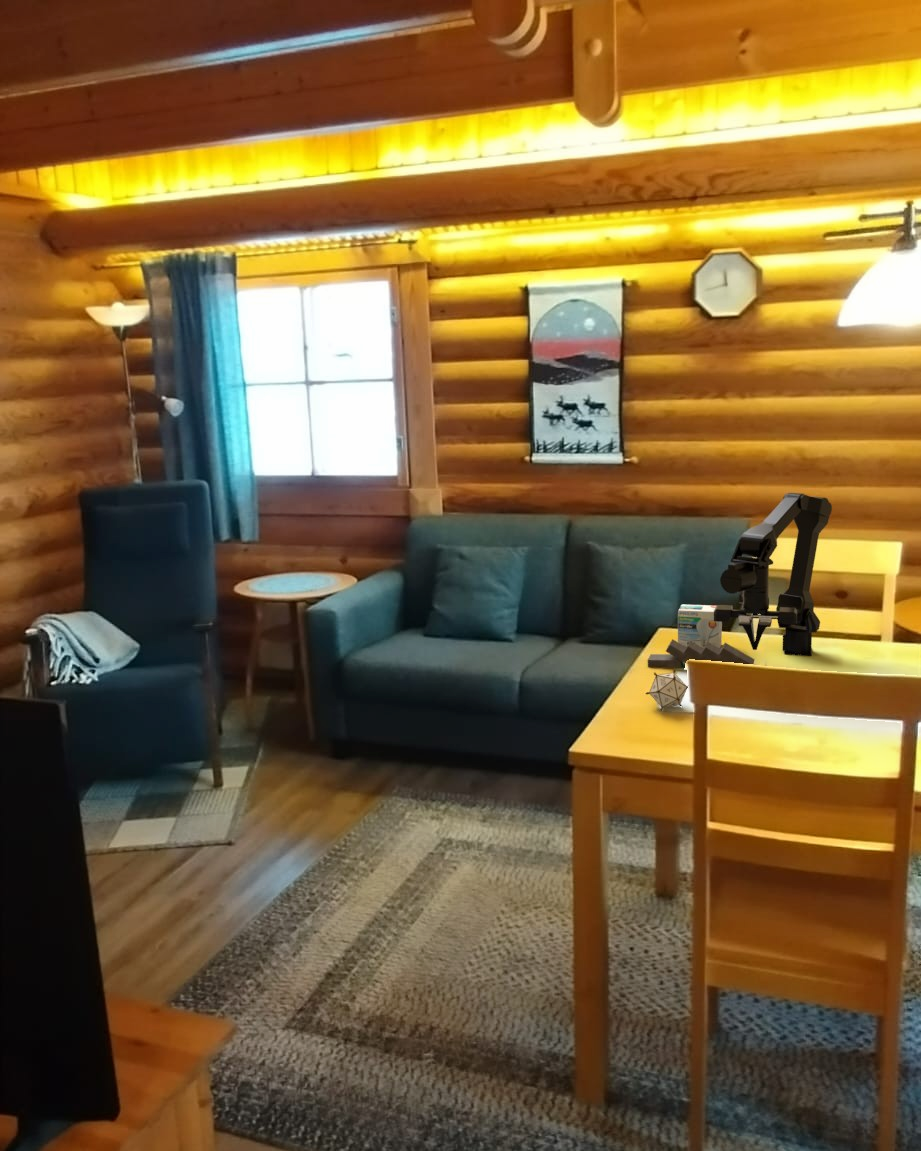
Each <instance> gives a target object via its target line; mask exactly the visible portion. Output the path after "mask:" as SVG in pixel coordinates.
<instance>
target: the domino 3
mask: <svg viewBox="0 0 921 1151" xmlns="http://www.w3.org/2000/svg"><path fill="white" fill-rule="evenodd" d="M702 651H703V648H702V647H700V646H699V645H697V644H695V643H694V642H692V641H690V642H689V643H688V645H687V647H686V649H685V651H684V653H685V654H686V655H688V656H690V657H692V658H693V659H695V660H711V659H709V658H707V657H706V656H704V655H702ZM711 661H713V660H711Z"/></svg>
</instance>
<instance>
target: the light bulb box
mask: <svg viewBox="0 0 921 1151" xmlns="http://www.w3.org/2000/svg"><path fill="white" fill-rule="evenodd" d="M717 606H718V605H707V604H706V605H705V604H703V605H702V604H684V603H683V604H681V605H680V607H679V609H678V611H677V642H678V643H680V644H682V645H683V646H685V647H687V645H688V643H689V642H690V641H692V642H694V643H695V644H697V645H699V646H700V647H702V648H704V647H705V645H706V643H707V642H709V643H711V644H713V645H714V646H716V647H718V648H720V649H721V648H722V646H723V645H722V644H723V643H722V640H723V639H722V638H723V637H722V636H723V635H722V634H723V633H722V632H723V629H722V627H723V622H717V621H714V610H715V608H716V607H717Z"/></svg>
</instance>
